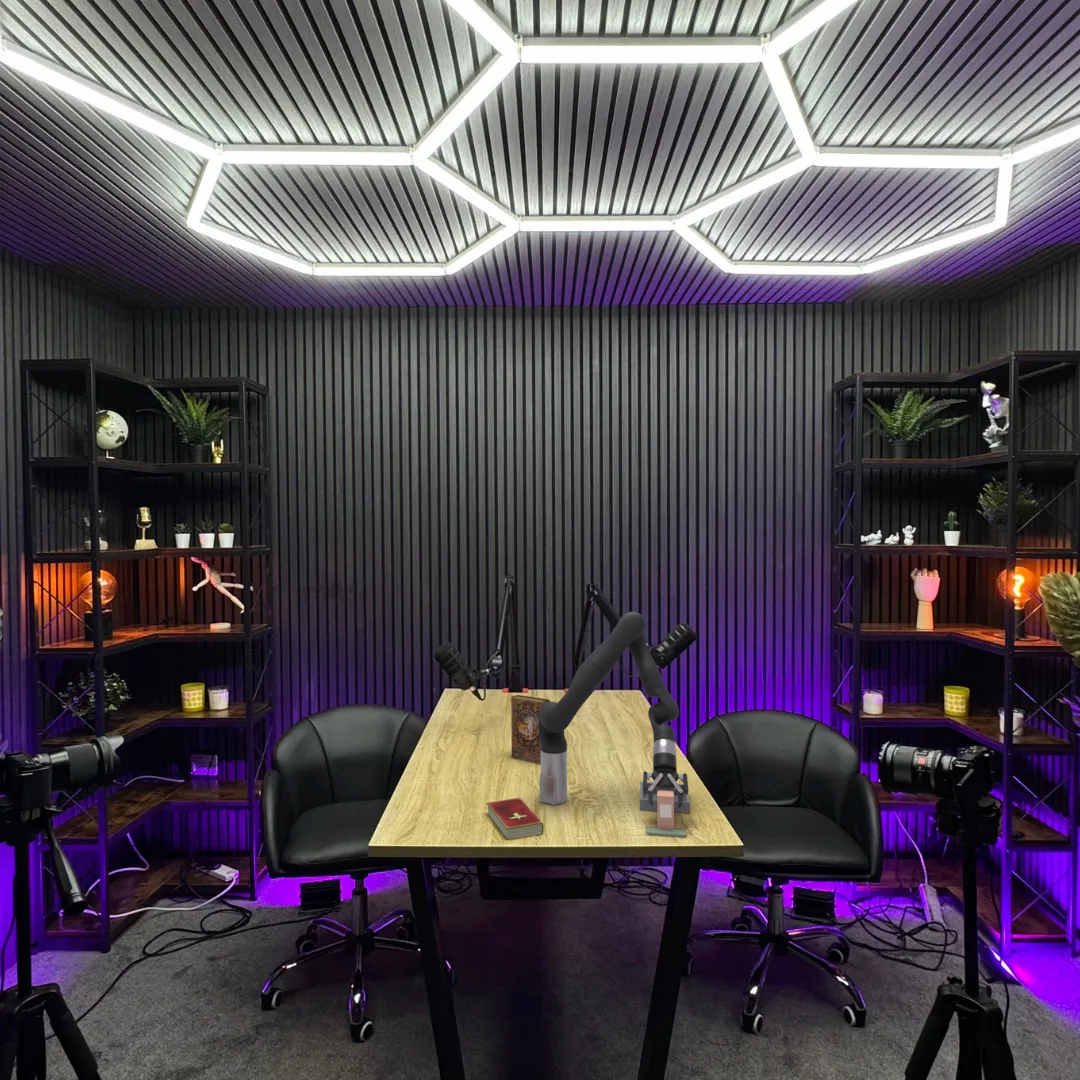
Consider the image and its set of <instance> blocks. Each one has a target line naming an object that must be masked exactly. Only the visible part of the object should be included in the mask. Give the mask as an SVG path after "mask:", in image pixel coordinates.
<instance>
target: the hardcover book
mask: <svg viewBox="0 0 1080 1080" xmlns="http://www.w3.org/2000/svg"><path fill="white" fill-rule="evenodd" d="M486 805H487V813H488V815H489V817H490V818H491V819H492V821H493V822H494V823H495V825H496V826H497V828H498V829H499V830H500V832H501V833H502V834H503V836H504V837H505V838H506V839H507V840H511V839H516V838H522V837H529V836H534V835H538V834H539V835H540V834H542V835H543V834H544V827H545V826H544V823H543V821H541V819H540V818H539V817H538V816H537V814H535V813H534V812H533V810H531V808H530V807H529V806H528V805H527V804H526V803H525V801H523V800H522V798H521V797H513V798H508V799H501V800H495V801H490V802H486Z"/></svg>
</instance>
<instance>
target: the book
mask: <svg viewBox="0 0 1080 1080" xmlns="http://www.w3.org/2000/svg"><path fill="white" fill-rule="evenodd" d="M510 698H511V700H510V702H511V708H510V709H511V712H510V713H511V716H510V717H511V718H510V720H511V723H510V726H511V733H510V734H511V736H510V737H511V759H512V758H513V759H514V760H517V759H519V760H518V761H522V760H524V761H523V762H527V761H528V762H529V763H531V764H532V763H533V764H538V765H541V747H540V741H539V725H538V717H539V711H540V709H541V707H542V706H543V705H544V704H545V703H547V702H551V700H550V699H549V698H542V697H536V696H535V697H534V696H529V695H522V694H521V695H520V694H517V695H512V696H511V697H510ZM513 759H512V760H513Z"/></svg>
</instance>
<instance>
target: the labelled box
mask: <svg viewBox="0 0 1080 1080" xmlns="http://www.w3.org/2000/svg"><path fill="white" fill-rule="evenodd" d="M656 819H657V821H656V822H657V823H656V825H657V826H656V827H657V828H665V829H674V828H675V812H674V793H673V791H670V790H657V811H656Z"/></svg>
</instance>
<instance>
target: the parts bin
mask: <svg viewBox="0 0 1080 1080" xmlns="http://www.w3.org/2000/svg"><path fill="white" fill-rule="evenodd" d="M653 782H654V781H653ZM653 782H652V781H651V782H650V781H649V782H648V781H647V787H650V786H651V785H652V783H653ZM678 785H679V786H680V788H681V789H684V785H683V783H678ZM657 790H670V791H673V793H674V813H676V814H677V813H682V814H690V811H691V809H690V808H691V807H690V806H691V804H690V803H691V802H690V796H689V793H688V794H687V795H686V794H685V795H683V805H682V806H681V808H679V807H678V793H677V792H676V791H675V790H674V789H673V788H672V787H671V788H660V787H659V786H658V788H657V789H656V790H655V791H654V792H653V806H651V804H649V802H648V793H647V792H643V781H640V782H639V811H645V812H647V811H648V812H657Z"/></svg>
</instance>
